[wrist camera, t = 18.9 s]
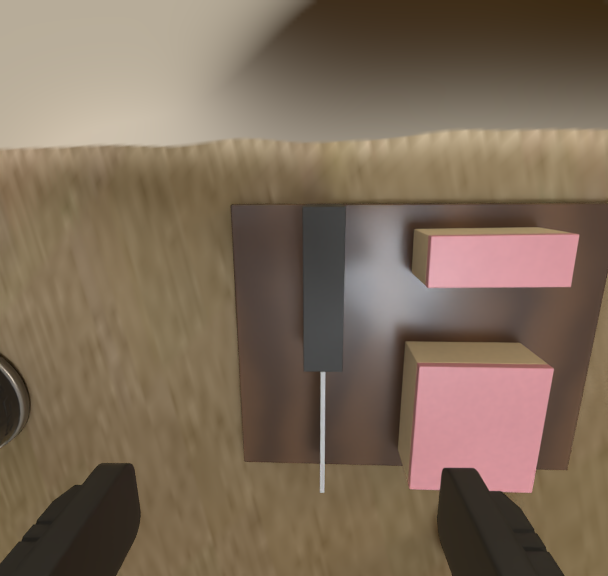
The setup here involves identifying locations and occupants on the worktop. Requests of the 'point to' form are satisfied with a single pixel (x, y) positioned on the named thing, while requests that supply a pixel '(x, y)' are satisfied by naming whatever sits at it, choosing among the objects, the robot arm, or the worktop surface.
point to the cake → (472, 412)
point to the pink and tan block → (494, 257)
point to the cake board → (398, 324)
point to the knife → (323, 297)
